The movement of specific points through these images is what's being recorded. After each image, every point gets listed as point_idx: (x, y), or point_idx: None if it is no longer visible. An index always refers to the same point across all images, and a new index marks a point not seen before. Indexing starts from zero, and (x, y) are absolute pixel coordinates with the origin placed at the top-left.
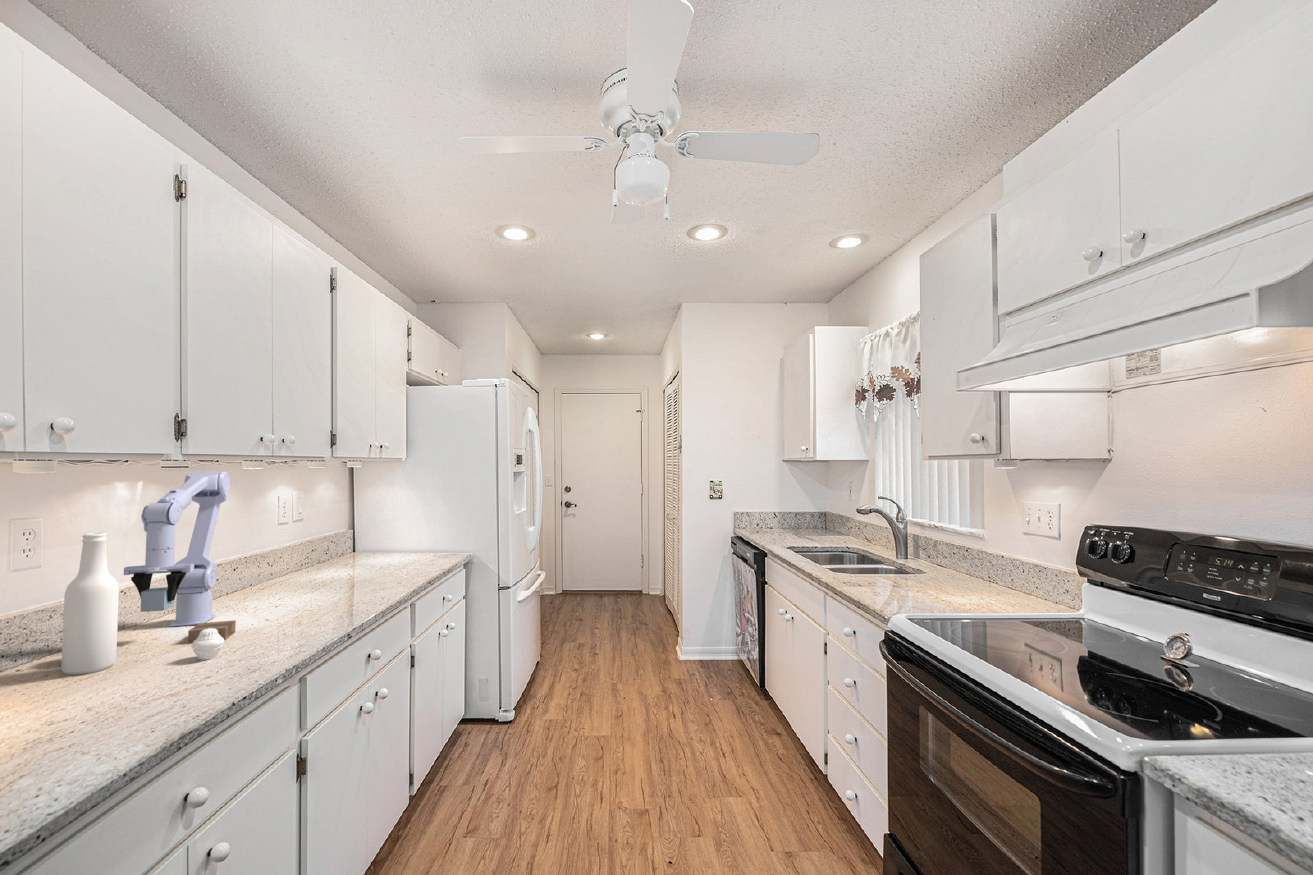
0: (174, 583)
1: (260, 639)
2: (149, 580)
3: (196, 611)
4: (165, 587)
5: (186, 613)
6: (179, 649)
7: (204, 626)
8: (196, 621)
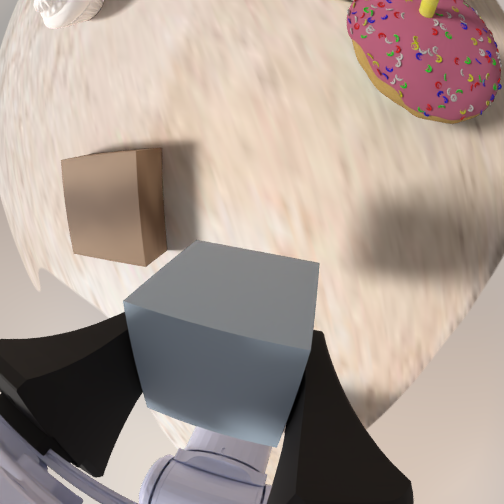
0: (53, 337)
1: (38, 141)
2: (272, 491)
3: None
4: (191, 421)
5: None
6: (163, 82)
7: (112, 203)
8: None
